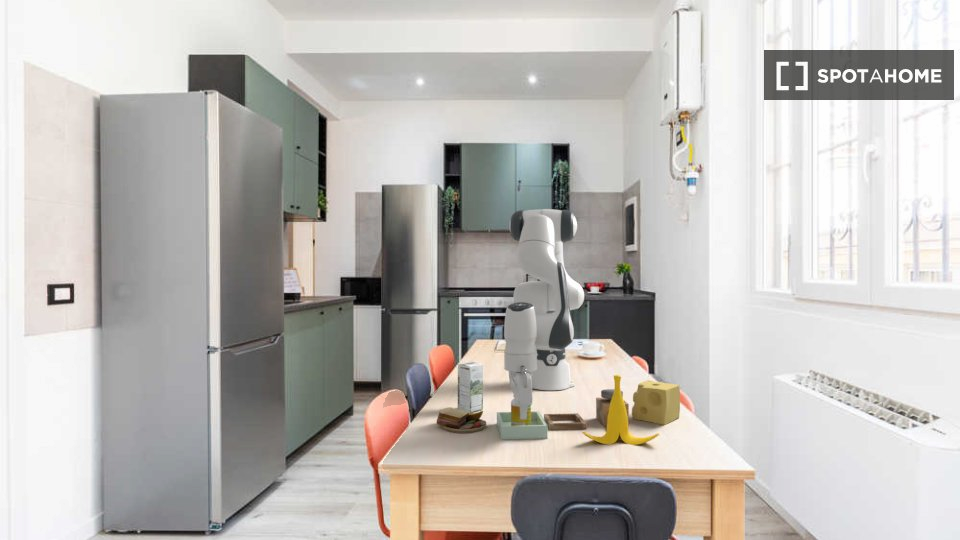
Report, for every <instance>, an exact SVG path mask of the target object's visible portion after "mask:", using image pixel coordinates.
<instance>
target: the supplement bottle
mask: <svg viewBox="0 0 960 540" xmlns="http://www.w3.org/2000/svg"><path fill="white" fill-rule="evenodd" d="M512 394H513V399H511V401H510V412H511V426H518V425H531V411H532V405H530V406H528V410H527V419H525V420H521V419H520V414H519V411H520V406H519V405H518V402H517V400H516V398H515V395H514V393H513V392H512Z"/></svg>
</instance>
